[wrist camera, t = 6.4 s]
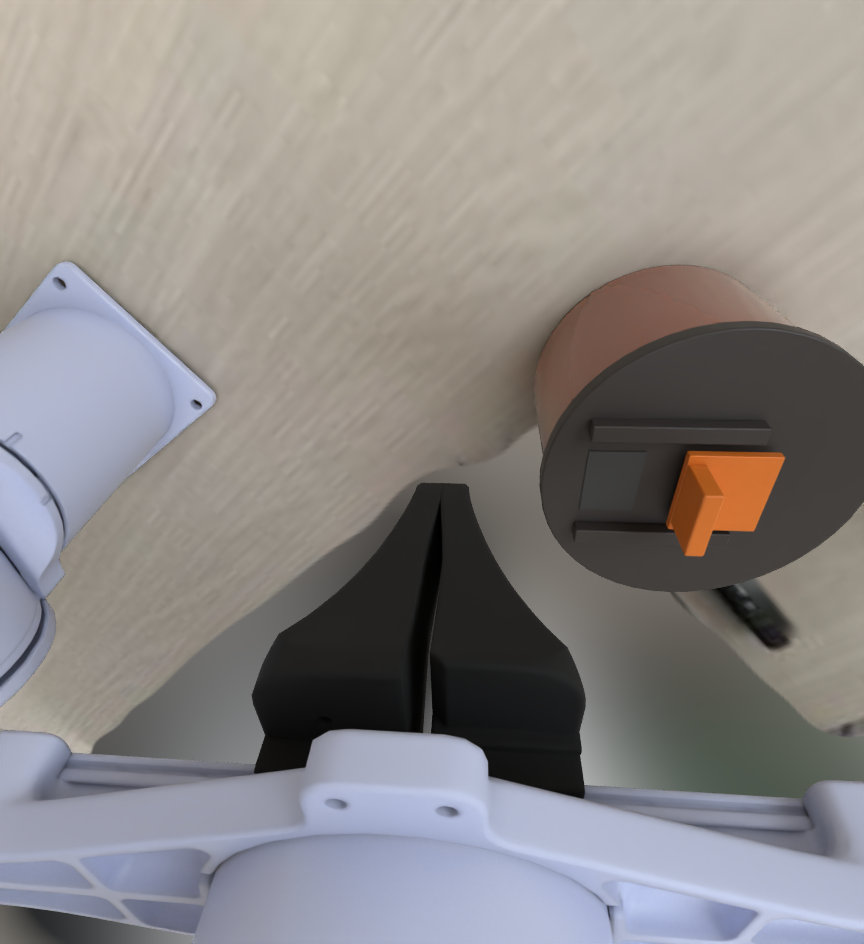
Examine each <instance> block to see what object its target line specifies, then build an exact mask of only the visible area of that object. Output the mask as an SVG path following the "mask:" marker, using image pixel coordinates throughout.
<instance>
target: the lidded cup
mask: <svg viewBox="0 0 864 944" xmlns="http://www.w3.org/2000/svg"><path fill="white" fill-rule="evenodd" d="M534 400H535V408H536V414H537V421H538V427H539V433H540V439H541V445H542V451H543V458H542V463H541V468H540V492H541V500H542V507H543V511H544V514H545V517H546V520H547V524H548V526H549V527H550V529H551V531H552V533H553V535H554V537H555V538H556V540H557V541H558V542H559V543H560V545H561V546H562V548H563V549H564V550H565V551H566V552H567V553H568V554H569V555H570V556H571V557H572V558H573V559H575V560H576V561H577V562H579V563H580V564H581V565H583V566H584V567H586V568H587V569H588V570H590V571H592V572H594V573H596V574H597V575H599V576H601V577H604V578H606V579H609V580H611V581H614V582H616V583H619V584H623V585H627V586H630V587H634V588H640V589H646V590H653V591H665V592H666V591H667V592H688V591H699V590H708V589H714V588H720V587H725V586H729V585H733V584H737V583H741V582H745V581H748V580H751V579H754V578H757V577H760V576H762V575H765V574H767V573H770V572H772V571H774V570H777V569H779V568H781V567H783V566H785V565H787V564H789V563H791V562H793V561H795V560H797V559H798V558H800V557H802V556H804V555H805V554H807V553H808V552H810V551H811V550H813V549H814V548H816V547H817V546H819V545H820V544H821V543H823V542H824V541H825V540H827V539H828V538H829V537H830V536H832V535H833V534H834V533H835V532H836V531H837V530H838V529H840V528H841V527H842V526H843V525H844V524H845V523H846V522H847V521H848V520H849V519H850V518H851V517H852V515H853V514H854V513H855V512H856V511H857V509H858V508H859V507H860V506H861V505H862V503H863V502H864V366H863V365H862V364H861V363H860V362H859V361H857V360H856V359H855V358H854V357H852V356H851V355H850V354H849V353H847V352H846V351H845V350H844V349H842V348H841V347H840V346H838V345H837V344H835V343H833V342H831V341H830V340H828V339H826V338H824V337H822V336H821V335H819V334H816V333H813V332H810V331H807V330H805V329H802V328H799V327H795V326H794V325H793V324H792V323H790V322H789V321H788V320H787V319H786V318H784V317H783V316H782V315H781V314H779V313H778V312H777V311H776V310H774V309H773V308H772V307H771V306H770V305H768V304H767V303H766V302H765V301H763V300H762V299H761V298H760V297H758V296H757V295H756V294H755V293H754V292H752V291H751V290H750V289H749V288H747V287H746V286H745V285H744V284H742V283H741V282H739V281H738V280H736V279H734V278H732V277H730V276H729V275H726V274H724V273H721V272H718V271H715V270H713V269H708V268H703V267H698V266H688V265H670V266H659V267H653V268H648V269H643V270H640V271H637V272H634V273H631V274H627V275H624V276H622V277H620V278H618V279H616V280H614V281H611V282H609V283H607V284H606V285H604V286H602V287H601V288H599V289H597V290H596V291H594V292H592V293H591V294H590V295H588V296H587V297H586V298H585V299H583V300H582V301H581V302H579V303H578V304H577V305H576V306H575V307H574V308H573V309H572V310H571V311H570V312H569V313H568V314H567V315H566V316H565V317H564V318H563V320H562V321H561V322H560V323H559V324H558V326H557V327H556V328H555V330H554V331H553V333H552V335H551V336H550V338H549V339H548V341H547V343H546V345H545V347H544V349H543V351H542V354H541V356H540V359H539V362H538V365H537V369H536V374H535V380H534ZM687 451H722V452H776V453H782V454H783V455H784V457H785V460H784V462H783V465H782V467H781V469H780V472H779V474H778V476H777V479H776V481H775V483H774V486H773V488H772V490H771V493H770V495H769V497H768V500H767V502H766V504H765V507H764V509H763V511H762V514H761V516H760V518H759V521H758V523H757V525H756V528H755V530H754V531H721V530H713V531H712V534H711V537H710V539H709V542H708V545H707V548H706V550H705V553H704V555H703V556H685V555H684V553H683V551H682V548H681V546H680V543H679V541H678V539H677V536H676V534H675V532H674V529H668V528H667V525H666V521H667V518H668V515H669V511H670V508H671V504H672V501H673V498H674V494H675V491H676V488H677V484H678V481H679V478H680V474H681V471H682V467H683V464H684V461H685V457H686V454H687Z"/></svg>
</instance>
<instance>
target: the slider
mask: <svg viewBox="0 0 864 944" xmlns="http://www.w3.org/2000/svg"><path fill="white" fill-rule="evenodd" d="M784 460H785V457H784V455H783V454H782V453H776V452H722V451H687V454H686V457H685V461H684V464H683V467H682V471H681V474H680V478H679V481H678V484H677V488H676V491H675V494H674V498H673V501H672V504H671V508H670V511H669V515H668V518H667V521H666V525H667V528H668V529H674V532H675V534H676V536H677V539H678V541H679V543H680V546H681V548H682V551H683V553H684V555H685V556H703V555H704V553H705V550H706V548H707V545H708V542H709V539H710V537H711V534H712V531H713V530H721V531H754V530H755V528H756V525H757V523H758V521H759V518H760V516H761V514H762V511H763V509H764V507H765V504H766V502H767V500H768V497H769V495H770V493H771V490H772V488H773V486H774V483H775V481H776V479H777V476H778V474H779V472H780V469H781V467H782V465H783V462H784Z"/></svg>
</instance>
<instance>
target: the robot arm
mask: <svg viewBox="0 0 864 944" xmlns="http://www.w3.org/2000/svg"><path fill="white" fill-rule="evenodd" d="M58 278H61V279H62V280H63V281H64V282H65V285H66V287H65V286H63V285H62V284H61V283H60V282H59V279H58ZM194 400H197V401H199V402H200V403H201V405H202V406H200V405H197V404H196V403H195V402H194ZM215 401H216V395H215V393H214V391H213V390H212V389H211V388H210V387H208V386H207V385H206V384H205V383H204V382H203V381H202V380H201V379H200V378H199V377H198V376H196V375H195V374H194V373H193V372H192V371H191V370H190V369H189V368H188V367H187V366H186V365H184V364H183V363H182V362H181V361H180V360H179V359H178V358H177V357H176V356H175V355H173V354H172V353H171V352H170V351H169V350H168V349H167V348H166V347H165V346H164V345H163V344H161V343H160V342H159V341H158V340H157V339H156V338H155V337H154V336H153V335H152V334H150V333H149V332H148V331H147V330H146V329H145V328H144V327H143V326H142V325H141V324H140V323H138V322H137V321H136V320H135V319H134V318H133V317H132V316H131V315H130V314H129V313H127V312H126V311H125V310H124V309H123V308H122V307H121V306H120V305H119V304H118V303H117V302H115V301H114V300H113V299H112V298H111V297H110V296H109V295H108V294H107V293H106V292H105V291H103V290H102V289H101V288H100V287H99V286H98V285H97V284H96V283H95V282H94V281H92V280H91V279H90V278H89V277H88V276H87V275H86V274H85V273H84V272H83V271H82V270H80V269H79V268H78V267H77V266H76V265H74V264H73V263H71V262H68V261H63V262H61V263H58V264H57V265H55V266H54V268H53V269H52V270H51V271H50V273H49V274H48V275H47V276H46V278H45V279H44V280H43V281H42V283H41V284H40V285H39V286H38V288H37V289H36V290H35V291H34V293H33V294H32V295H31V296H30V298H29V299H28V300H27V301H26V303H25V304H24V305H23V307H22V308H21V309H20V310H19V312H18V313H17V314H16V315H15V317H14V318H13V319H12V320H11V322H10V323H9V324H8V325H7V327H6V328H5V329H4V330H3V332H1V333H0V707H1V706H3V705H4V704H5V703H6V702H7V701H8V700H9V699H11V698H12V697H13V696H14V695H15V694H16V693H17V692H18V691H19V690H20V689H21V688H22V687H23V685H24V684H25V683H26V682H27V681H28V680H29V679H30V677H31V676H32V675H33V674H34V673H35V671H36V670H37V669H38V667H39V666H40V664H41V663H42V661H43V660H44V658H45V657H46V655H47V653H48V651H49V649H50V647H51V645H52V642H53V639H54V636H55V632H56V619H55V613H54V611H53V609H52V607H51V606H50V604H49V603H48V602H47V600H46V599H45V598H46V597H47V596H48V595H49V594H50V592H51V591H52V590H53V589H54V588H55V586H56V585H57V584H58V583H59V582H60V580H61V579H62V578H63V577H64V576H65V572H64V570H63V568H62V567H61V564H60V558H59V556H60V553H61V552H62V551H63V550H64V548H65V547H66V546H67V545H68V544H69V543H70V542H71V540H72V539H73V538H74V537H75V536H76V535H77V534H78V532H79V531H80V530H81V529H82V528H83V527H84V526H85V524H86V523H87V522H88V521H89V520H90V519H91V518H92V516H93V515H94V514H95V513H96V512H97V511H98V510H99V508H100V507H101V506H102V505H103V504H104V503H105V502H106V500H107V499H108V498H109V497H110V496H111V495H112V494H113V492H114V491H115V490H116V489H117V488H118V487H119V486H120V484H121V483H122V482H123V481H124V480H125V479H126V478H127V477H129V476H130V475H131V474H132V473H133V472H135V471H136V470H137V469H138V468H139V467H140V466H142V465H143V464H144V463H145V462H146V461H148V460H149V459H150V458H151V457H152V456H154V455H155V454H156V453H157V452H158V451H159V450H161V449H162V448H163V447H164V446H165V445H167V444H168V443H169V442H170V441H171V440H172V439H174V438H175V437H176V436H177V435H178V434H180V433H181V432H182V431H183V430H184V429H186V428H187V427H188V426H189V425H190V424H191V423H193V422H194V421H195V420H196V419H197V418H199V417H200V416H201V415H202V414H203V413H204V412H206V411H207V410H208V409H209V408H210V407H212V405H213V404H214V403H215ZM439 585H440V586H439ZM438 591H439V594H438ZM437 596H438V603H437V610H436V617H435V625H434V631H433V637H432V643H431V649H430V664H431V688H432V709H433V715H432V728H431V734H427V733H423V724H424V708H425V693H426V679H427V666H428V653H429V644H430V636H431V631H432V625H433V620H434V613H435V608H436V602H437ZM252 700H253V705H254V707H255V710H256V713H257V715H258V718H259V720H260V723H261V725H262V728H263V731H264V733H265V738H264V741H263V744H262V747H261V750H260V753H259V756H258V759H257V762H256V764H241V763H225V762H210V761H194V760H193V761H192V760H178V759H162V758H146V757H130V756H115V755H99V754H83V753H71V750H70V748H69V746H68V745H67V743H66V742H65V741H64V740H63V739H62V738H60V737H58V736H56V735H54V734H50V733H45V732H28V731H12V730H5V731H1V732H0V904H4V905H14V906H23V907H30V908H37V909H45V910H53V911H59V912H65V913H71V914H77V915H82V916H89V917H94V918H100V919H105V920H110V921H116V922H121V923H126V924H132V925H137V926H143V927H148V928H153V929H159V930H164V931H169V932H175V933H180V934H186V935H191V936H194V939H193V942H192V944H864V782H855V781H838V780H828V781H821V782H817V783H814V784H813V785H812V786H810V787H809V788H808V789H807V791H806V793H805V794H804V796H803V799H795V798H780V797H764V796H748V795H732V794H716V793H700V792H685V791H669V790H653V789H637V788H620V787H605V786H590V785H589V786H588V785H584V780H583V773H582V766H581V759H580V755H581V752H582V749H581V740H580V733H579V731H580V727H581V723H582V719H583V715H584V711H585V702H586V699H585V693H584V688H583V685H582V682H581V679H580V676H579V673H578V670H577V668H576V665H575V663H574V661H573V658H572V656H571V654H570V652H569V650H568V648H567V647H566V646H565V645H564V644H563V643H562V642H561V641H560V640H559V639H558V638H557V637H556V636H555V635H554V634H553V633H552V632H551V631H550V630H549V629H547V628H546V626H545V625H544V624H543V623H542V622H541V621H540V620H539V619H538V618H537V617H536V616H535V614H534V613H533V612H532V611H531V610H530V608H529V607H528V606H527V605H526V604H525V602H524V601H523V600H522V599H521V597H520V596H519V595H518V594H517V592H516V591H515V590H514V588H513V587H512V585H511V584H510V583H509V581H508V580H507V578H506V576H505V575H504V573H503V572H502V570H501V569H500V567H499V565H498V563H497V562H496V560H495V558H494V556H493V555H492V553H491V551H490V549H489V547H488V545H487V543H486V541H485V539H484V536H483V534H482V532H481V529H480V527H479V524H478V522H477V519H476V517H475V514H474V511H473V507H472V504H471V500H470V495H469V487H468V486H467V485H466V484H450V483H421V484H419V485H418V486H417V488H416V491H415V493H414V495H413V497H412V499H411V501H410V503H409V504H408V506H407V508H406V510H405V512H404V513H403V515H402V516H401V518H400V519H399V521H398V523H397V524H396V525H395V527H394V529H393V530H392V532H391V533H390V534H389V536H388V537H387V538H386V540H385V541H384V542H383V544H382V545H381V546H380V548H379V549H378V550H377V551H376V553H375V554H374V555H373V556H372V557H371V559H370V560H369V561H368V562H367V563H366V564H365V565H364V566H363V568H362V569H361V570H360V571H359V572H358V573H357V574H356V575H355V576H354V577H353V578H352V579H351V580H350V581H349V582H348V583H347V584H346V585H345V586H343V587H342V588H341V589H340V590H339V591H338V592H337V593H336V594H334V595H333V596H332V597H331V598H330V599H328V600H327V601H326V602H324V603H323V604H322V605H321V606H319V607H318V608H317V609H316V610H314V611H313V612H312V613H310V614H309V615H308V616H306V617H305V618H303V619H302V620H300V621H299V622H297V623H295V624H294V625H292V626H291V627H289V628H288V629H286V630H284V631H283V632H281V633H279V635H278V636H277V638H276V640H275V641H274V643H273V645H272V647H271V648H270V650H269V653H268V654H267V656H266V658H265V660H264V662H263V665H262V667H261V670H260V673H259V676H258V678H257V681H256V684H255V688H254V690H253V693H252Z"/></svg>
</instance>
